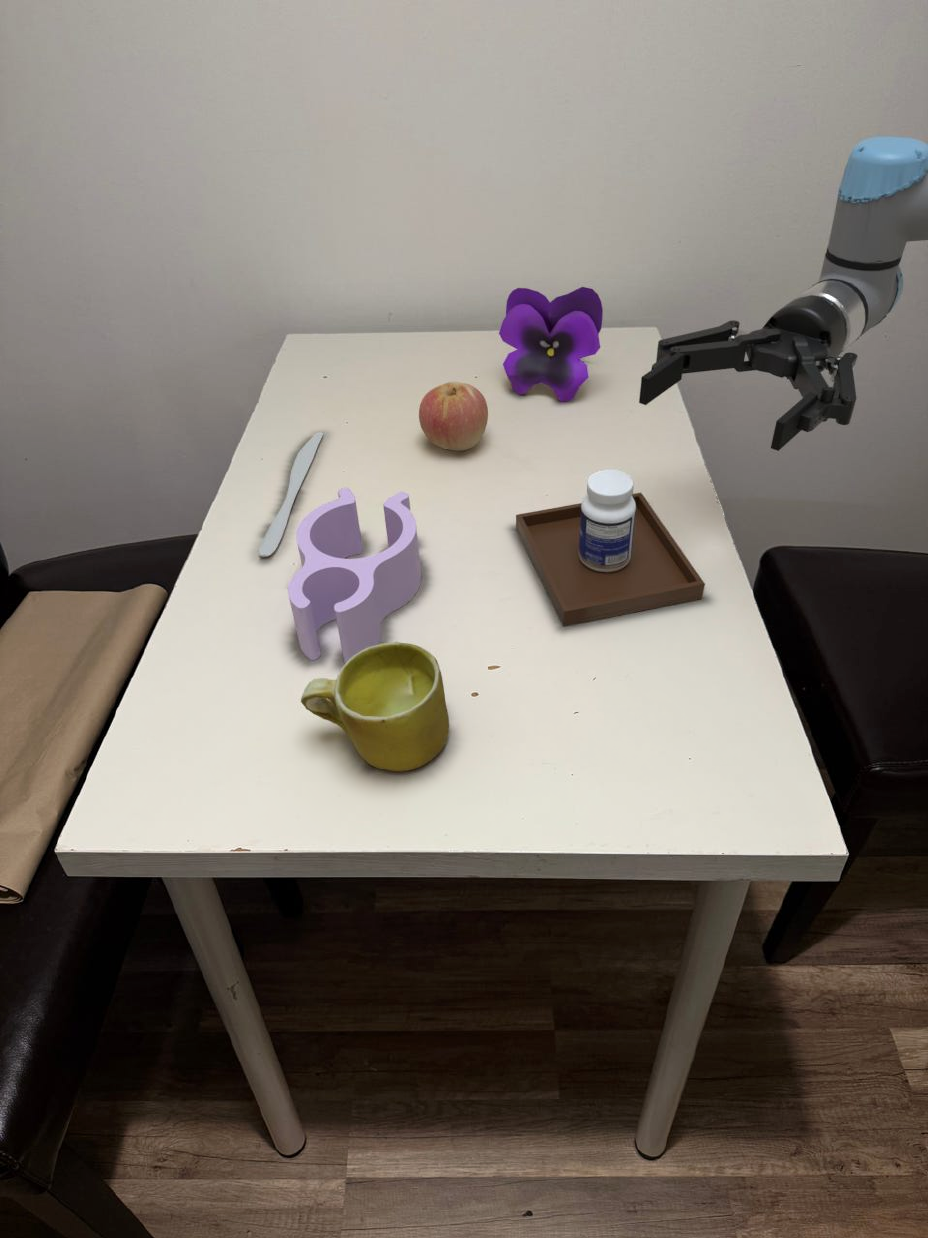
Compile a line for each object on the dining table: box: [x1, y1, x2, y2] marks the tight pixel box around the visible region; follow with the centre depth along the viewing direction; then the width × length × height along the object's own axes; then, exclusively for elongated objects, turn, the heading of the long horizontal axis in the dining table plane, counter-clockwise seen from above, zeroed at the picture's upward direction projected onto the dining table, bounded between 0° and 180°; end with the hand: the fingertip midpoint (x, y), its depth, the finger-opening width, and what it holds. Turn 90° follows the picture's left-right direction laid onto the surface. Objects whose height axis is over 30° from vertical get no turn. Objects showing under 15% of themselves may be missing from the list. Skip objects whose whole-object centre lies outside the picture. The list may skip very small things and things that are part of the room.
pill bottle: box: [579, 469, 636, 572], centre depth 94 cm, size 6×6×10 cm
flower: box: [498, 286, 604, 403], centre depth 127 cm, size 15×15×14 cm
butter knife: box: [257, 431, 324, 558], centre depth 110 cm, size 1×27×3 cm
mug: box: [300, 641, 450, 772], centre depth 78 cm, size 12×10×10 cm
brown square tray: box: [515, 492, 706, 627], centre depth 97 cm, size 17×15×2 cm
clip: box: [287, 486, 422, 664], centre depth 93 cm, size 20×12×7 cm, turn 169°
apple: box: [418, 381, 489, 451], centre depth 115 cm, size 9×9×8 cm
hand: (707, 412), depth 81 cm, fingers open, 13 cm apart
